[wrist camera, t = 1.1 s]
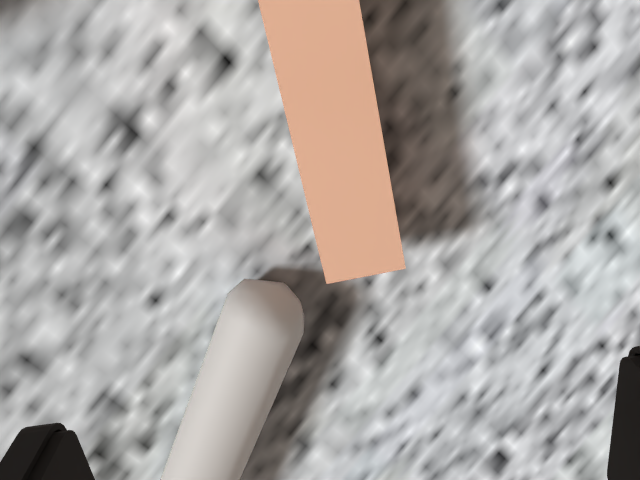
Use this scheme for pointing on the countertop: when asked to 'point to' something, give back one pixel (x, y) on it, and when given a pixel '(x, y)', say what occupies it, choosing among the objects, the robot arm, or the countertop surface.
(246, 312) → the tube
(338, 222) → the clay strip
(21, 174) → the countertop surface
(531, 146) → the countertop surface
